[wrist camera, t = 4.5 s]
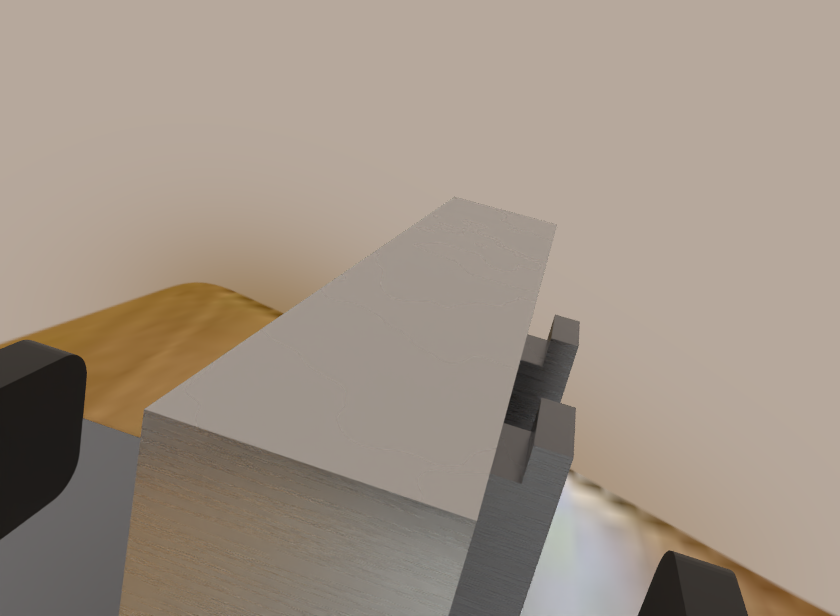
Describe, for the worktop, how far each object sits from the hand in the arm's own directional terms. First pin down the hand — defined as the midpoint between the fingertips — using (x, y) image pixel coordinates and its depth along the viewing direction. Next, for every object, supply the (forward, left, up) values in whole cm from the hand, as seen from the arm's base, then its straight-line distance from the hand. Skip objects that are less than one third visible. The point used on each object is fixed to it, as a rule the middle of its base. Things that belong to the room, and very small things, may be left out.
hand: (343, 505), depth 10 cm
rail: (-4, -6, -2) cm, 7 cm away
